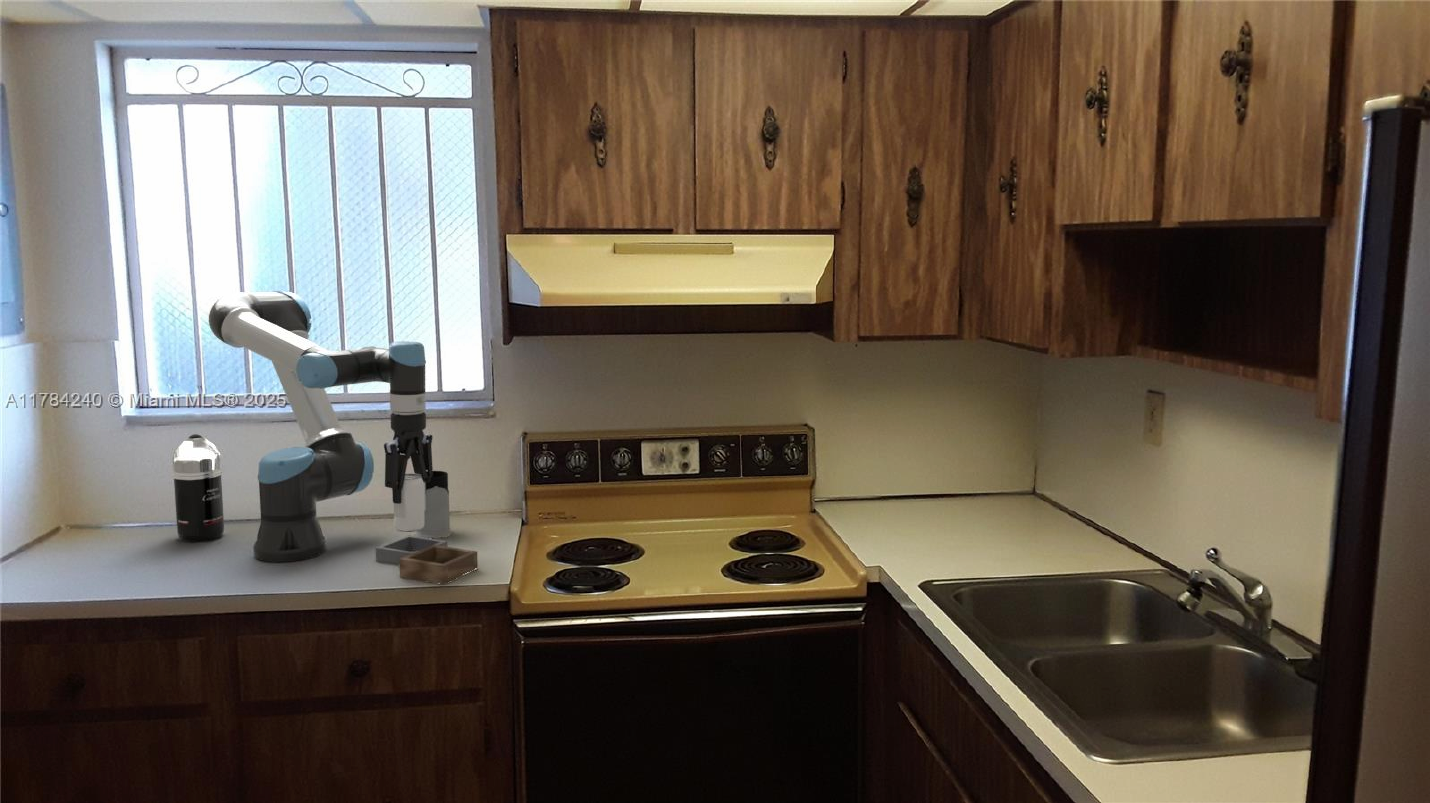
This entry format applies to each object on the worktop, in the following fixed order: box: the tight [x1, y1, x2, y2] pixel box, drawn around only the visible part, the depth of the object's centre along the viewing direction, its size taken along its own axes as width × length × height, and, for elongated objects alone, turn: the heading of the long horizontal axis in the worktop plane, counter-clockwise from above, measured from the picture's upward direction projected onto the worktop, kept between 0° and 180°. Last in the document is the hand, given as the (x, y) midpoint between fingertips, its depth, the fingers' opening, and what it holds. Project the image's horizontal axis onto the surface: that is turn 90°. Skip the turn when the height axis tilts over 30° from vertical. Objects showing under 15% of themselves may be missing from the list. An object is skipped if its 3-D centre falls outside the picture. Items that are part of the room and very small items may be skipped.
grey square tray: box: [375, 535, 449, 565], centre depth 223 cm, size 11×11×3 cm
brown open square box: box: [398, 545, 479, 585], centre depth 212 cm, size 12×12×4 cm
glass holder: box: [414, 470, 453, 539], centre depth 243 cm, size 9×14×15 cm, turn 29°
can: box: [393, 472, 424, 533], centre depth 221 cm, size 6×6×12 cm
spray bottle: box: [171, 433, 225, 543], centre depth 234 cm, size 10×10×25 cm
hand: (410, 513), depth 222 cm, fingers closed on can, 6 cm apart
